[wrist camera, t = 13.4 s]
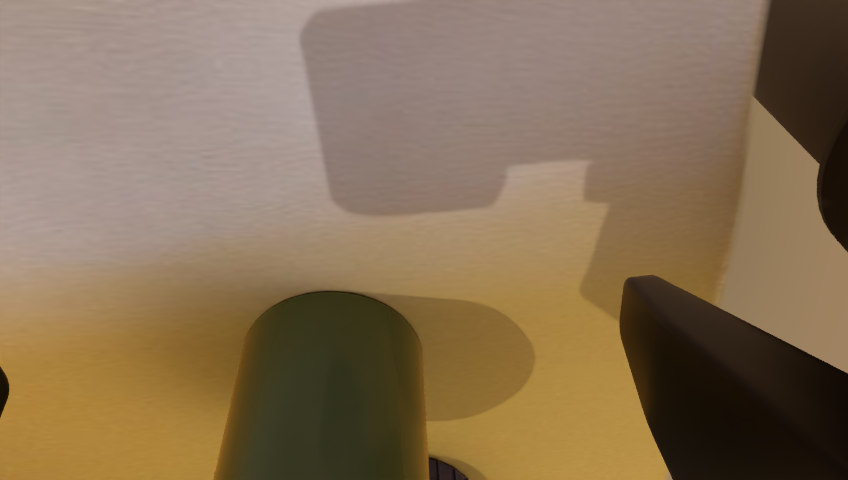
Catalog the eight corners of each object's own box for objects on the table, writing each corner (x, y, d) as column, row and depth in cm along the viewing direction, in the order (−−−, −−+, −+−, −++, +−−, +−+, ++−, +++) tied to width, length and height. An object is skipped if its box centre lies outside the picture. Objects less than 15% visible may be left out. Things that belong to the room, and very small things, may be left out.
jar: (410, 280, 23) (423, 563, 15) (431, 406, 26) (450, 684, 19) (220, 303, 23) (138, 593, 15) (268, 425, 26) (222, 706, 19)
